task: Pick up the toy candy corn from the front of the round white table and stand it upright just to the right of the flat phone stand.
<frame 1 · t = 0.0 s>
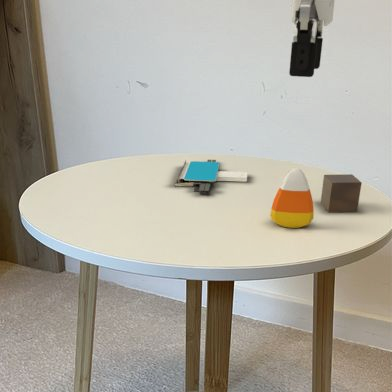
hand: (304, 72, 84), 18 cm above the table, tool pointing down, fingers open, 9 cm apart
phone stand: (212, 179, 104), on the table
candy corn: (290, 226, 84), on the table
walnut block: (338, 207, 91), on the table
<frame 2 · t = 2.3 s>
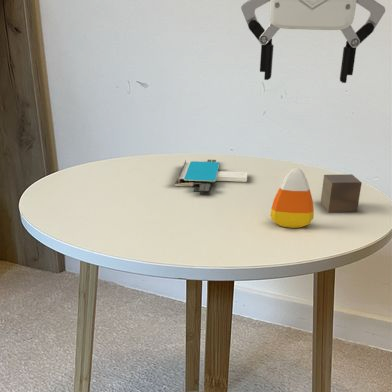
hand: (304, 80, 77), 18 cm above the table, tool pointing down, fingers open, 9 cm apart
nothing on the table moved.
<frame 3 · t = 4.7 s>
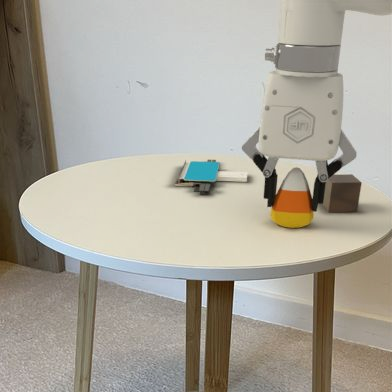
hand: (292, 205, 82), 3 cm above the table, tool pointing down, fingers closed on candy corn, 5 cm apart
candy corn: (290, 226, 84), on the table, touching gripper
everything else where it was.
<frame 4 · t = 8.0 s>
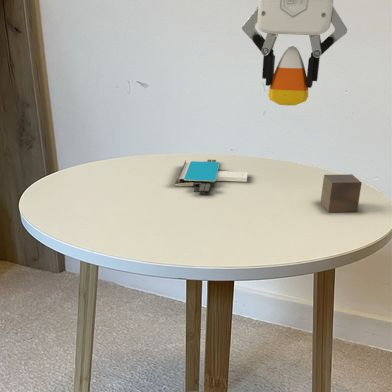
hand: (289, 84, 89), 16 cm above the table, tool pointing down, fingers closed on candy corn, 5 cm apart
candy corn: (287, 106, 91), point 13 cm above the table, touching gripper
everything else where it was.
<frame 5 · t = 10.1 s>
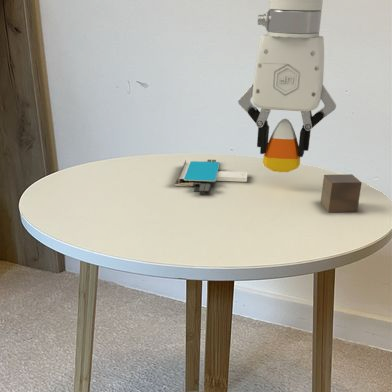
hand: (282, 152, 96), 6 cm above the table, tool pointing down, fingers closed on candy corn, 5 cm apart
candy corn: (280, 171, 97), point 3 cm above the table, touching gripper
everything else where it was.
when the fingers open (3 cm above the table, at t = 11.3 s): candy corn stays where it is, on the table.
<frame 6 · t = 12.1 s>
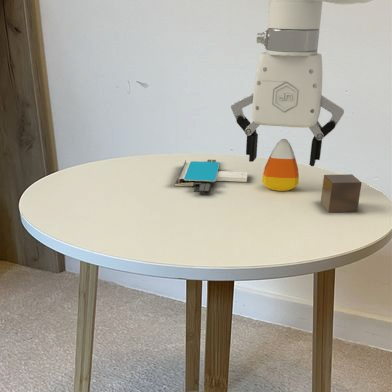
hand: (282, 162, 96), 4 cm above the table, tool pointing down, fingers open, 9 cm apart
candy corn: (279, 190, 99), on the table
everything else where it was.
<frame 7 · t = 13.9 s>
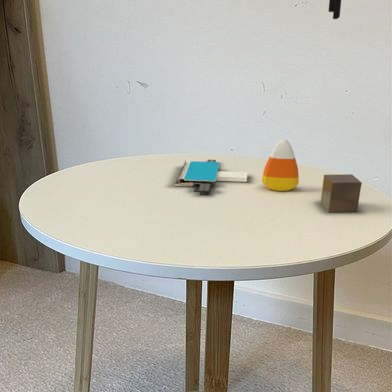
hand: (373, 18, 79), 25 cm above the table, tool pointing down, fingers open, 9 cm apart
nothing on the table moved.
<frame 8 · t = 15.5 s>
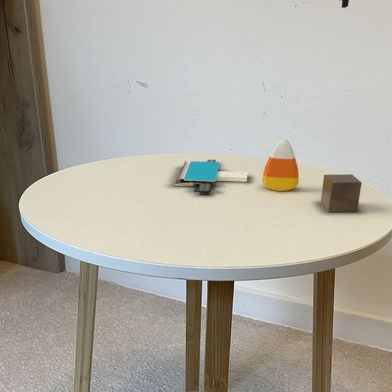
hand: (382, 8, 78), 26 cm above the table, tool pointing down, fingers open, 9 cm apart
nothing on the table moved.
at the end: candy corn inside the target area on the table beside the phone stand (0.3 cm from its centre), on the table; candy corn tilted 0°; the gripper is holding nothing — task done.
